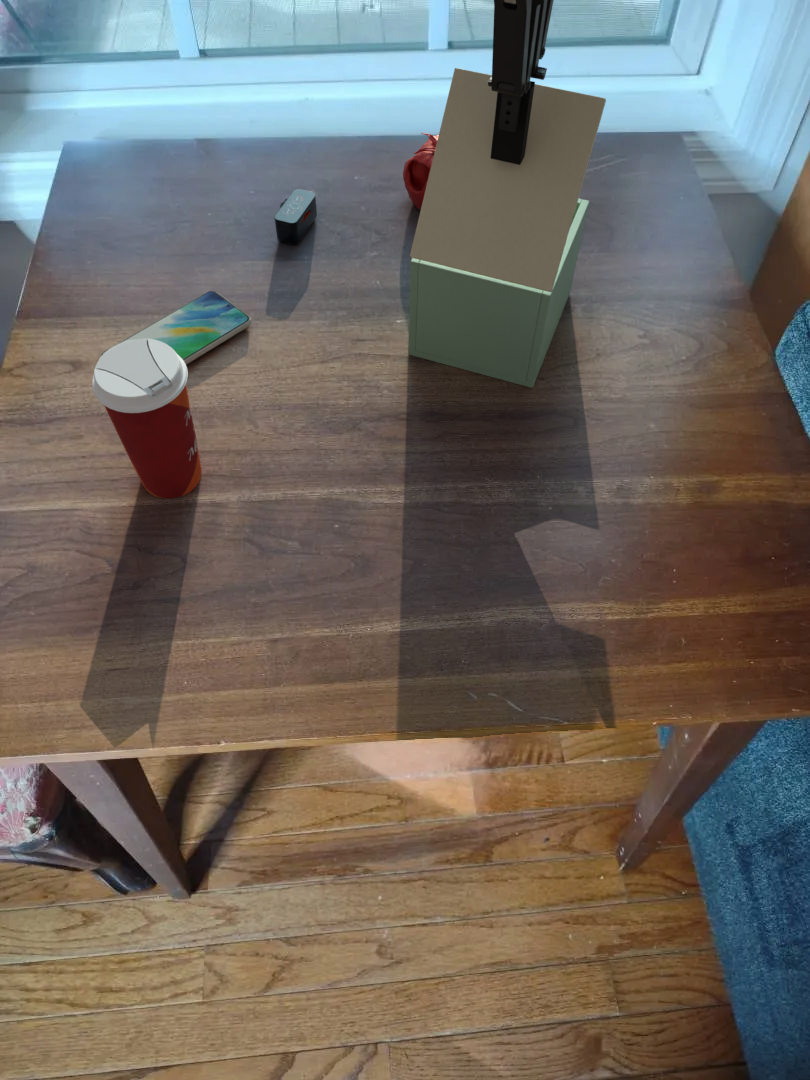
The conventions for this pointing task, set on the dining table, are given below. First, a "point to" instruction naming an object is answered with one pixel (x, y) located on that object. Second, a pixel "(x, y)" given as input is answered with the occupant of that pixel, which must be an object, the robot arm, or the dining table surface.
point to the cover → (505, 184)
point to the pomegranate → (419, 171)
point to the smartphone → (196, 326)
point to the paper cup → (151, 413)
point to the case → (489, 315)
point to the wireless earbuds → (295, 216)
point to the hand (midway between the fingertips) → (507, 157)
